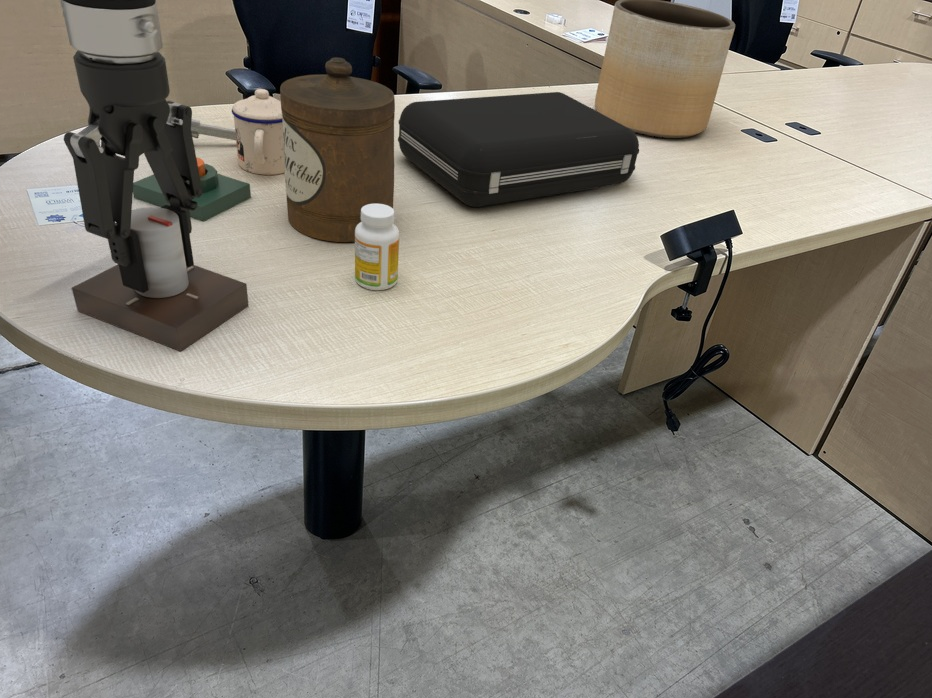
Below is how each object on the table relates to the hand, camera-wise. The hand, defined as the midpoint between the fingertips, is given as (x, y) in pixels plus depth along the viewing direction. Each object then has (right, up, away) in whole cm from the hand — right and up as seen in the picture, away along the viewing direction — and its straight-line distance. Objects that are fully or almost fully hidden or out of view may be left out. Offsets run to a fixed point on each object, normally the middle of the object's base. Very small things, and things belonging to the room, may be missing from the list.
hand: (159, 274), depth 80 cm
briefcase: (+38, +27, +51) cm, 69 cm away
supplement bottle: (+21, +1, +14) cm, 25 cm away
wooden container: (+14, +12, +26) cm, 31 cm away
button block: (-7, +15, +25) cm, 30 cm away
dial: (0, -1, +1) cm, 1 cm away
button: (-7, +18, +23) cm, 29 cm away
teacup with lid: (0, +22, +36) cm, 42 cm away
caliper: (-9, +27, +41) cm, 50 cm away
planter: (+69, +47, +83) cm, 118 cm away
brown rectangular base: (-1, -3, +3) cm, 4 cm away
